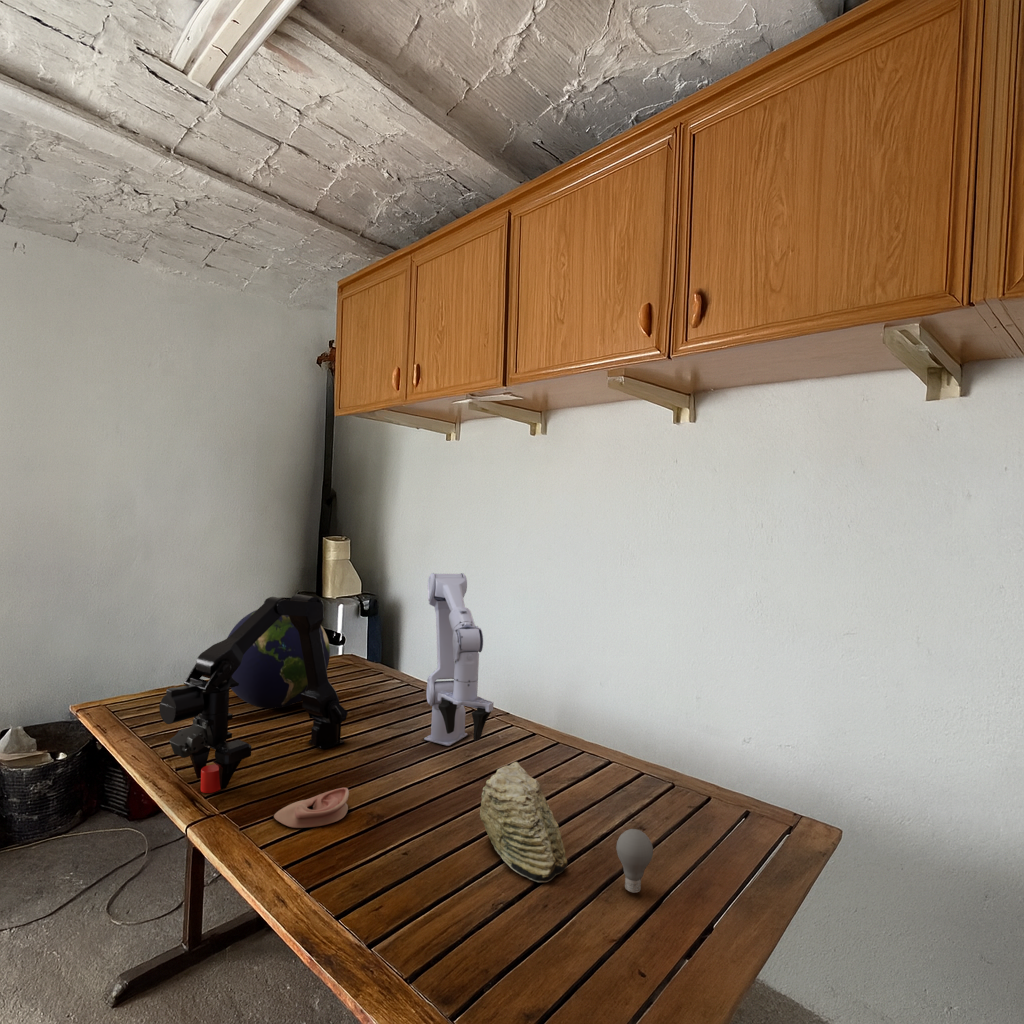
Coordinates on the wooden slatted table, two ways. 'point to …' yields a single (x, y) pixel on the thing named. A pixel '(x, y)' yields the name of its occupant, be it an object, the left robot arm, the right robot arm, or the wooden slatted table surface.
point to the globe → (274, 666)
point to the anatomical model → (315, 810)
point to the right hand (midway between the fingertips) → (463, 735)
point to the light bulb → (634, 857)
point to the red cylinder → (210, 779)
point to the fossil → (522, 824)
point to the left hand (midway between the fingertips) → (211, 783)
